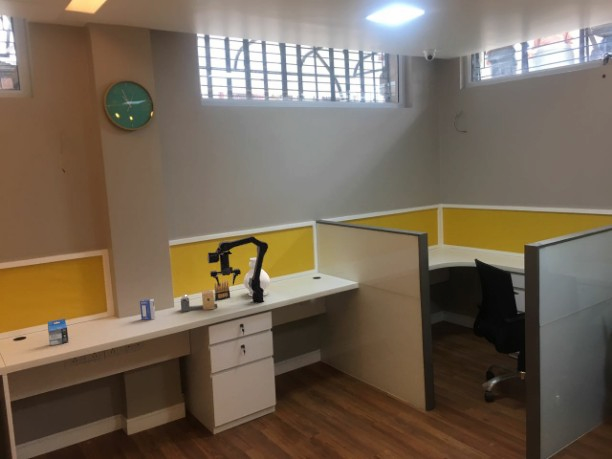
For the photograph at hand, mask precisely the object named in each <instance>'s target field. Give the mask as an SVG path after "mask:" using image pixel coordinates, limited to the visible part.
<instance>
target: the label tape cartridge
mask: <svg viewBox="0 0 612 459" xmlns="http://www.w3.org/2000/svg"><path fill="white" fill-rule="evenodd" d="M47 332H48V341H49V346H50V347H51V346H57V345H62V344H67V343H69V336H68V335H69V334H68V333H69V332H68V327H67V323H66V318H62V319H61V318H59V319H55V320H51V321H47Z"/></svg>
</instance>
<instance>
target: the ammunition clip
mask: <svg viewBox="0 0 612 459" xmlns="http://www.w3.org/2000/svg"><path fill="white" fill-rule="evenodd" d="M219 284H220V287H219V285H218V283H216V282H214V301H216V302H217V301H222V300H226V299H230V298H231V292H230V285H229V280H226V281H223V280H222V282H221V281H219Z"/></svg>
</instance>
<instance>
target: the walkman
mask: <svg viewBox="0 0 612 459" xmlns="http://www.w3.org/2000/svg"><path fill="white" fill-rule="evenodd" d="M139 305H140V307H139V308H140V317H141V318H140V319H141V320H142V321H149V320H155V319H156V318H157V316H156V307H155V299H154V298H152V299H151V298H150V299H140V300H139Z"/></svg>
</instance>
